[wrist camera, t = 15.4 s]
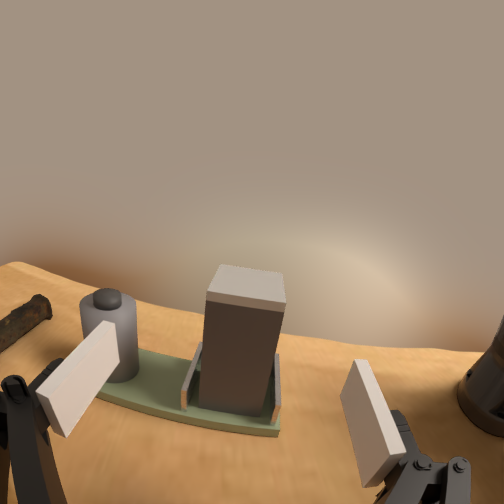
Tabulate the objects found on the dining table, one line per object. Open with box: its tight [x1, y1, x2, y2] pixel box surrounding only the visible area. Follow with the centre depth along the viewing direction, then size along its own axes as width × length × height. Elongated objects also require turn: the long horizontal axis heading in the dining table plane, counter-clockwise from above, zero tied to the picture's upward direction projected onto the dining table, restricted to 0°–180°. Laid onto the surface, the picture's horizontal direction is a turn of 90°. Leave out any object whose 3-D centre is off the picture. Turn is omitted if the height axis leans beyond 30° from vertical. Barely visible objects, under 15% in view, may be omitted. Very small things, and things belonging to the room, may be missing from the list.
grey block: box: [198, 264, 286, 417], centre depth 27 cm, size 6×7×13 cm
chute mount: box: [181, 342, 281, 426], centre depth 28 cm, size 9×8×3 cm
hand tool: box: [0, 294, 53, 353], centre depth 26 cm, size 19×4×5 cm, turn 175°
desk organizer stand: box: [79, 288, 280, 437], centre depth 27 cm, size 22×9×10 cm, turn 87°
